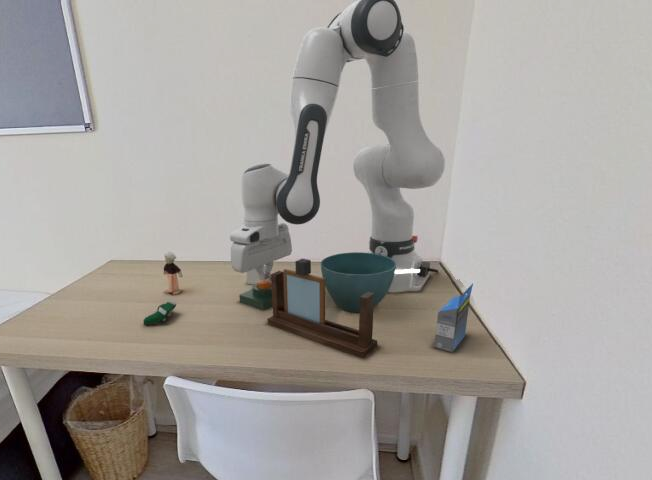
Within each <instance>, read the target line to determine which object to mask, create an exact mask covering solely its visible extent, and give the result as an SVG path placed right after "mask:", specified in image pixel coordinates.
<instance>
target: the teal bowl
mask: <svg viewBox="0 0 652 480" xmlns="http://www.w3.org/2000/svg"><path fill="white" fill-rule="evenodd" d="M395 269H396V262H395V261H394V260H393V259H391V258H389V257H387V256H384V255H379V254H374V253H368V252H363V251H362V252H359V251H357V252H356V251H355V252H354V251H353V252H343V253H337V254H333V255H329V256H327V257H324V258H323V259H322V260H321V261H320V271H321V277H322V278H325V289H326V290H327V292H328V295H329V296H330V297H331V299H332V301H333V302H334V303H335V305H337V306H338V307H339V308H340V309H341V310H342V311H344V312H345V313H348V314H355V315H360V296H362V295H363V294H365V293H367V292H370V293H374V309H375V308H376V307H377V306H378V305H379V304H380V303H381V302H382V301H383V299H384V298H385V297H386V295H387V293H389V292H388V290H389V288H390V286H391V284H392V281H393V278H394V274H395Z"/></svg>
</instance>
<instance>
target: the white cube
mask: <svg viewBox="0 0 652 480" xmlns="http://www.w3.org/2000/svg"><path fill="white" fill-rule="evenodd" d="M265 266H266V265H264V269H263V271H264V270H265ZM259 280H260V279H259V274H258V272H257V271H256V269H252V270H250V271H247V272H246V281H247V285H255V284H257V283H258V281H259ZM267 280H271V277H270V278H268V279H267Z"/></svg>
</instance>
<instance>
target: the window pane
mask: <svg viewBox="0 0 652 480" xmlns="http://www.w3.org/2000/svg"><path fill="white" fill-rule="evenodd" d="M282 272H283V282H284V309H285V312H287V313H291V314H294V315H297V316H300V317H303V318H306V319H309V320H312V321H315V322H318V323H322V324H325V320H326V286H325V278H323V276H318V275H313V274H311V273H312V261H311V259H307V258H300V259H297V260H295V270H291V269H286V268H285V269H283V270H282Z"/></svg>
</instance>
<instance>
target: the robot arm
mask: <svg viewBox="0 0 652 480" xmlns="http://www.w3.org/2000/svg"><path fill="white" fill-rule="evenodd" d="M404 28H405V27H404V24H403V21H402V15H401V11H400V8H399V6H398V4H397V2H396V1H395V0H356V1H354V2H352V3H350V4H349V5H348V6H347V7H346V8H344V10H343V11H341V12H339V13H338V14H336V15H335V17H333V19H331V21H330V23H328V25H327V26H319V27H314V28H312V29H310V30H308V31H307V32H306V33H305V35H304V36H303V38H302V41H301V44H300V47H299V50H298V52H297V56H296V60H295V63H294V68H293V73H292V77H291V78H292V79H291V84H290V92H289V112H290V116H291V118H292V121H293V125H294V132H295V133H294V145H293V151H292V156H291V157H292V158H291V163H290V169H289V173H287V172H286V171H283V170H281V169H278V168H277V167H275V166H274V165H272V164H271V163H263V164H257V165H254V166H251V167H248V168H247V169H245V171H244V172H243V174H242V176H241V201H242V205H243V208H244V213H243V214H244V215H243V223H242V224H241V225H239V227H237V228H236V229H235V230H233V231H231V233H230V234H229V239H230V242H232V243H231V246H230V265H231V268H232V270H233V271H234V272H236V273H240V274H245V273H247V271H250V270H252V269H256V271H257V272H258V274H259V279H260V280H262V281H263V280H265V279H268V278H270V279H271V274H272V273H271V272H272V269H273V266H274V262H276V261H278V260H280V259H283V258H286V257H289V256H290V255H292V252H293V246H292V238H291V234H290V232H289V230H290V229H289V226H288V225H287V224H285V223H284V222H283V223H281V222H280V223H279V216H280V217H281V219H282V220H284V221H285V222H286V223H289V224H291V225H303V224H307V223H309V222H310V221H311V220H313V219H314V218H315V217H316V215H317V214H318V212H319V209H320V207H321V196H320V192H319V188H318V173H319V167H320V163H321V158H322V157H321V156H322V150H323V145H324V140H325V135H326V132H327V129H328V126H329V122H330V119H331V117H332V114H333V111H334V109H335V104H336V102H337V97H338V93H339V89H340V83H341V79H342V78H341V77H342V73H343V70H344V68H345V66H346V64H347V63H351V62H354V61H360V60H363V59H364V60H365V62H366V63H367V65H368V68H369V71H370V93H371V95H370V96H371V114H372V115H371V117H372V121H373V124H374V125H375V127H376V128H378V129H379V130H381V131H382V132H383V133H384V135H385V136H386V138H387V140H388V144H387V143H386V144H374V145H371V146H366V147H364V148H362V149H360V150H359V151H358V152H357V154H356V155H355V158H354V160H353V173H354V177H355V178H356V179H357V181H359V182H360V184H361V185H362V187H363V188H364V189H365V193H366V195H367V197H368V200H369V204H370V208H371V236H370V237H369V242H368V245H369V246H368V248H369V251H367V253H374V254H379V255H384V256H387V257H389V258H391V259H393V260H394V261H395V262H396V269H395V274H394V278H393V281H392V284H391V286H390V288H389V290H388V292H387V293H405V292H420V291H421V290H422V289H423V287H424V286H425V284H426V282H427V281H428V279H429V278H430V273H429V272H431V273H436V274H438V273H439V270H438V269H435V268H431V262H429V261H423V258H422V256H421V255H419V254H418V253H417V251H415V244H416V243H417V242H418V240H419V239H418V238H419V237H418V235H413V233H414V232H413V231H414V218H415V211H414V209H413V206H412V205H411V204H409V202H407V201H406V200H405V198H404V197H403V195H402V193H401V189H408V190H409V189H410V190H418V189H424V188H429V187H431V188H432V187H433V186H435V185H437V183H438V182H439V181H440V180H441V178H442V176H443V174H444V172H445V168H446V161H445V156H444V153H443V151H442V150H441V149H440V148H439V147H438V146H437V145H436V144H434V143H433V142H432V140H430V138H429V136H428V135H427V133H426V131H425V129H424V125H423V123H422V119H421V114H420V101H419V99H420V98H419V64H418V55H417V49H416V44H415V40H414V37H413V36H412V35H411V34H410V33H408V32H405V29H404ZM278 215H279V216H278ZM264 265H266V266H265V270H264V271H263V269H264Z"/></svg>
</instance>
